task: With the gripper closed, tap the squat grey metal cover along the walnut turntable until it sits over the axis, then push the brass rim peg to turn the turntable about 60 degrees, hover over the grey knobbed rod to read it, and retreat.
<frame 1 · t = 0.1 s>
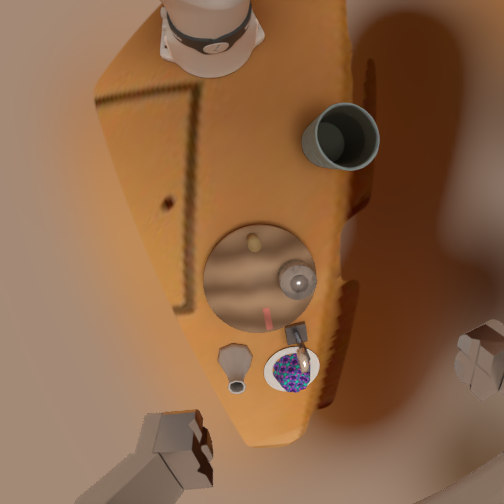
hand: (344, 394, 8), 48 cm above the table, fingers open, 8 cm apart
turntable: (261, 285, 54), point 4 cm above the table, hinge at 0.0°, touching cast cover
flask: (235, 357, 62), on the table
pudding: (291, 367, 64), on the table
grey green cup: (323, 142, 53), on the table
grey knobbed rod: (295, 332, 61), on the table
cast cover: (294, 275, 55), point 3 cm above the table, touching turntable
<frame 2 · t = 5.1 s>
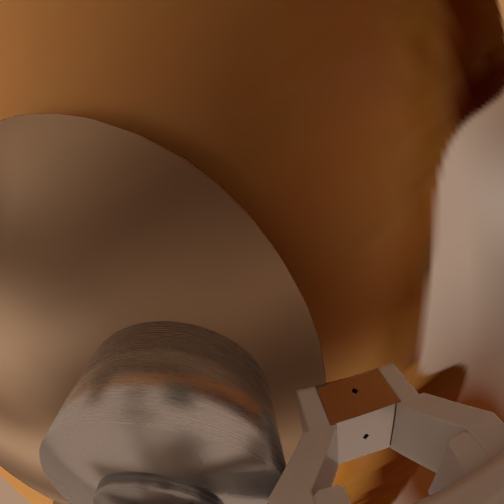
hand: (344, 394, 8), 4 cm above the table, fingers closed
turntable: (35, 431, 7), point 4 cm above the table, hinge at 0.0°, touching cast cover
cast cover: (176, 402, 9), point 3 cm above the table, touching gripper, turntable
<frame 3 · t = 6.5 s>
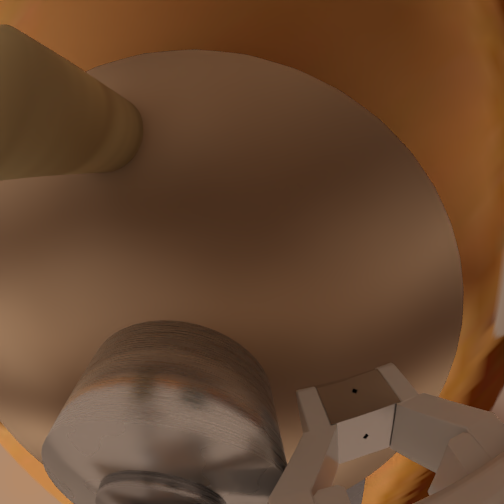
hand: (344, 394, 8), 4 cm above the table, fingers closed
turntable: (178, 430, 8), point 4 cm above the table, hinge at 0.0°, touching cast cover
grey knobbed rod: (329, 490, 15), on the table
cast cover: (177, 401, 9), point 3 cm above the table, touching gripper, turntable
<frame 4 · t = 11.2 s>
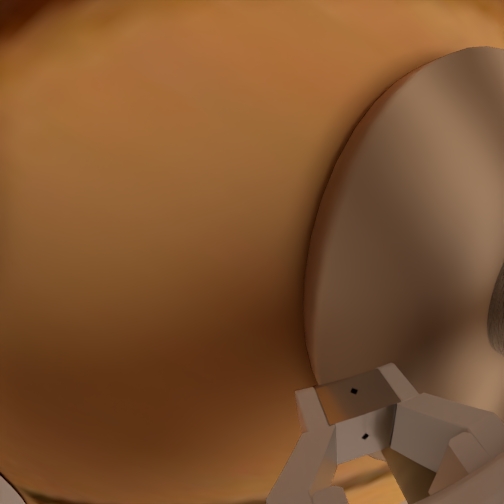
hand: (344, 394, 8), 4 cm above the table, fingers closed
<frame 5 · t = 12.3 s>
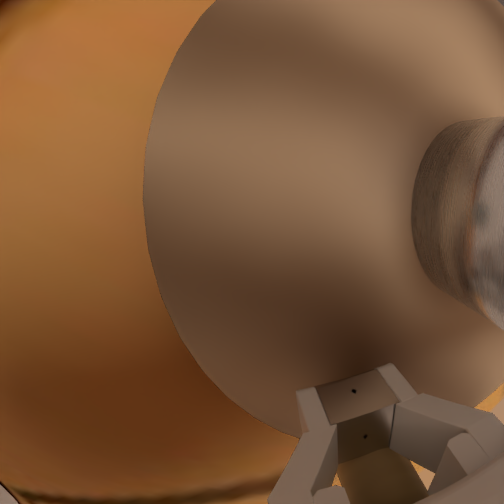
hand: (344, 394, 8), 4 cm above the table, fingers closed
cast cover: (478, 210, 8), point 3 cm above the table, touching turntable
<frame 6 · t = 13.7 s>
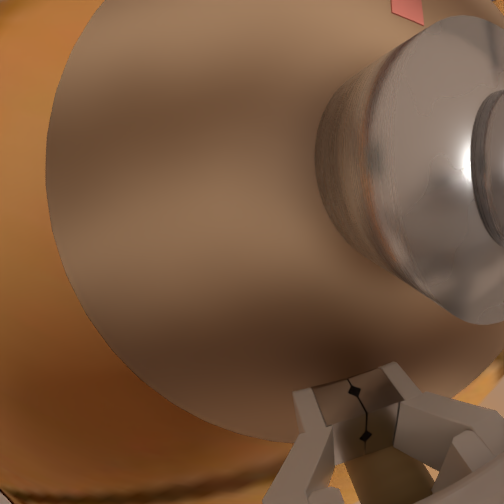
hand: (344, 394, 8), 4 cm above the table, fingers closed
turntable: (437, 169, 6), point 4 cm above the table, hinge at 46.1°, touching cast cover, gripper
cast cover: (412, 165, 8), point 3 cm above the table, touching turntable
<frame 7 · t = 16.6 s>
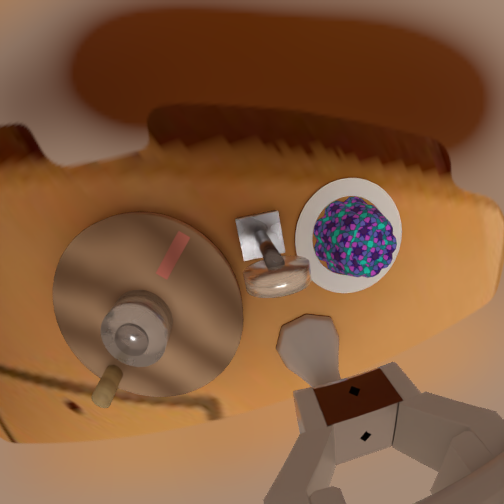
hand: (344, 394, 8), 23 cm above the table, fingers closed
turntable: (136, 325, 27), point 4 cm above the table, hinge at 47.4°, touching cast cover
flask: (307, 340, 34), on the table
pudding: (349, 235, 32), on the table
grey knobbed rod: (259, 234, 30), on the table
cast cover: (142, 318, 29), point 3 cm above the table, touching turntable
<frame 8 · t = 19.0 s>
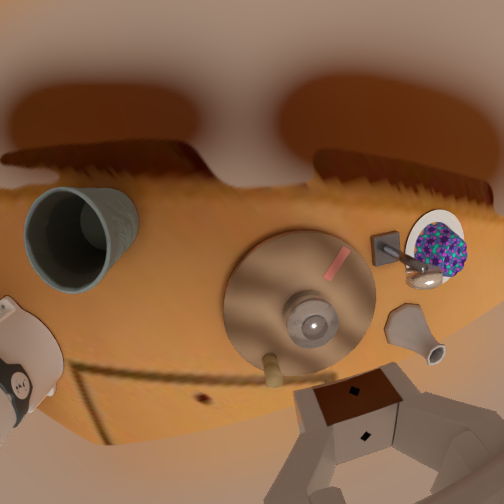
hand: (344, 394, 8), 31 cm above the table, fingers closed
turntable: (306, 317, 37), point 4 cm above the table, hinge at 47.4°, touching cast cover
flask: (402, 322, 44), on the table
pudding: (433, 248, 42), on the table
grey green cup: (107, 221, 37), on the table
grey knobbed rod: (384, 247, 40), on the table
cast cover: (306, 311, 39), point 3 cm above the table, touching turntable
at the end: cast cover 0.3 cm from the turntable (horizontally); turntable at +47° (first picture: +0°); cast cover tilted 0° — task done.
